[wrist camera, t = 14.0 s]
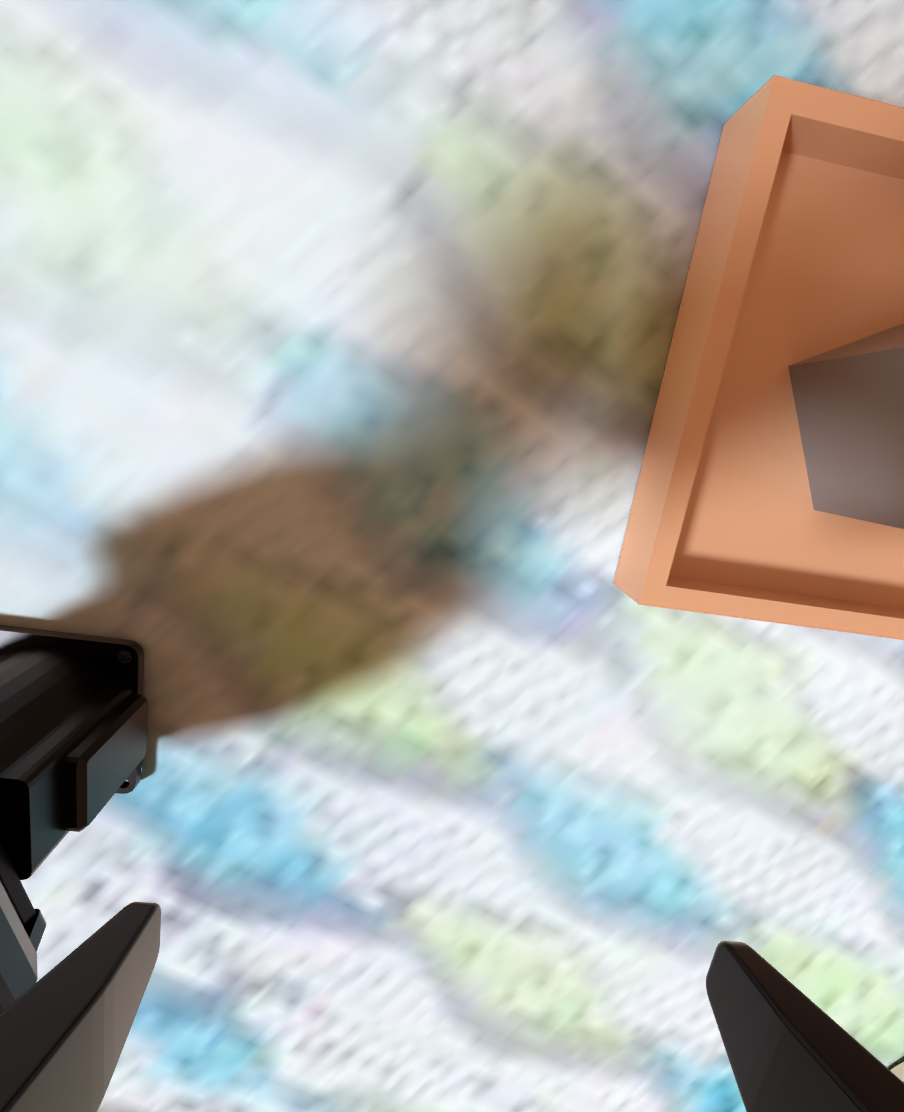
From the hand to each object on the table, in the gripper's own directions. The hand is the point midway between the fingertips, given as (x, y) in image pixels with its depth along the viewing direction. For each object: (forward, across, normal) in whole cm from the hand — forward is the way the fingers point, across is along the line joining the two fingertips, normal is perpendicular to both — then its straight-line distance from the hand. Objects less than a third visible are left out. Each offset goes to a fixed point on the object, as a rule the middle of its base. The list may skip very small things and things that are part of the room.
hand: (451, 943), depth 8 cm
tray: (+13, -15, -11) cm, 23 cm away
